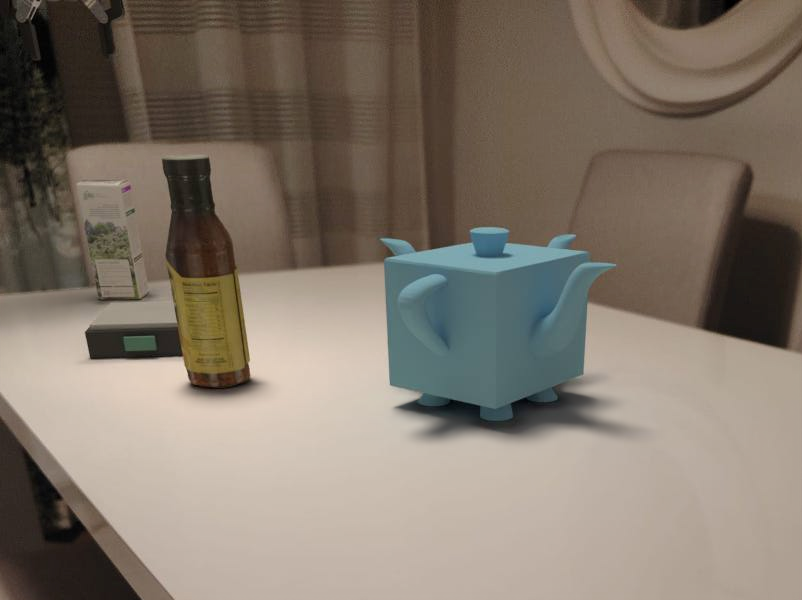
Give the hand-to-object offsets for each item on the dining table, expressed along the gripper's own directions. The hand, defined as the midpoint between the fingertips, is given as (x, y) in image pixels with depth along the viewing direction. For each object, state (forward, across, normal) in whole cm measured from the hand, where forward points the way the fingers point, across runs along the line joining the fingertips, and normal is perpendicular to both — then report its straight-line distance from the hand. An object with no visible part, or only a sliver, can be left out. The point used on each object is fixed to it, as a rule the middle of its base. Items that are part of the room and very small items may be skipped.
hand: (72, 59), depth 117 cm
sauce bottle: (+28, -17, +49) cm, 59 cm away
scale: (+28, -9, +31) cm, 43 cm away
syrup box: (+28, -1, +2) cm, 28 cm away
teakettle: (+28, -43, +59) cm, 78 cm away
